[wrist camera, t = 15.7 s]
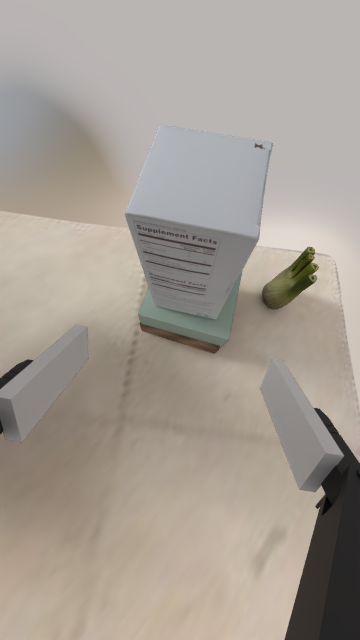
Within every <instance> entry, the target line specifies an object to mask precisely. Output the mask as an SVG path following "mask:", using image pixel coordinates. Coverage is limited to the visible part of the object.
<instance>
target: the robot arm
mask: <svg viewBox="0 0 360 640" xmlns="http://www.w3.org/2000/svg"><path fill="white" fill-rule="evenodd" d="M87 360H88V334H87V326H81V325H75V326H74V327H73V328H72V329H71V330H70V331H68V332H67V333H66V334H65V335H64V336H62V337H61V338H60V339H59V340H58V341H57V342H55V343H54V344H53V345H52V346H51V347H50V348H48V349H47V350H46V351H45V352H44V353H42V354H41V355H40V356H39V357H38V358H37V359H35V360H26V361H24V362H22V363H19V364H17V365H16V366H15V367H14V368H12V369H11V370H10V371H9V372H7V373H6V374H5V375H3V376H2V378H0V434H1V433H2V432H3V433H4V436H5V439H6V440H10V441H16V442H23V441H24V439H25V438H26V437H27V436H28V434H29V433H30V432H31V431H32V429H33V428H34V427H35V425H36V424H37V423H38V422H39V420H40V419H41V418H42V417H43V415H44V414H45V413H46V412H47V410H48V409H49V408H50V407H51V405H52V404H53V403H54V402H55V400H56V399H57V398H58V396H59V395H60V394H61V393H62V391H63V390H64V389H65V388H66V386H67V385H68V384H69V383H70V381H71V380H72V379H73V378H74V376H75V375H76V374H77V373H78V371H79V370H80V369H81V367H82V366H83V365H84V364H85V362H86V361H87ZM260 390H261V393H262V395H263V398H264V400H265V403H266V405H267V408H268V411H269V413H270V416H271V418H272V421H273V423H274V426H275V428H276V431H277V434H278V436H279V439H280V441H281V444H282V446H283V449H284V452H285V454H286V457H287V459H288V462H289V464H290V467H291V470H292V472H293V475H294V477H295V480H296V482H297V485H298V487H299V490H305V491H311V492H316V491H317V490H318V488H319V487H320V486H321V485H322V487H323V489H324V491H325V493H326V494H325V495H324V496H323V498H322V499H321V500H320V501H319V502H318V504H317V505H316V506H315V507H316V508H317V509H318V508H319V507H320V509H319V513H318V517H317V520H316V524H315V528H314V532H313V535H312V539H311V543H310V547H309V550H308V554H307V558H306V561H305V565H304V569H303V573H302V576H301V580H300V584H299V588H298V591H297V595H296V599H295V603H294V606H293V610H292V614H291V618H290V621H289V625H288V629H287V633H286V636H285V640H360V463H359V462H358V460H357V459H356V457H355V456H354V454H353V453H352V452H351V450H350V449H349V447H348V446H347V444H346V443H345V441H344V440H343V438H342V437H341V435H339V433H338V431H337V430H336V428H335V427H334V425H333V424H332V422H331V421H330V419H329V418H328V417H327V416H326V415H325V414H324V413H323V412H322V411H321V410H320V409H318V408H313V406H312V405H311V403H310V402H309V400H308V399H307V397H306V395H305V394H304V392H303V391H302V389H301V388H300V386H299V384H298V383H297V381H296V380H295V378H294V377H293V375H292V374H291V372H290V370H289V369H288V367H287V366H286V364H285V363H284V361H283V360H278V359H272V360H271V363H270V365H269V368H268V370H267V372H266V375H265V377H264V379H263V382H262V384H261V386H260Z"/></svg>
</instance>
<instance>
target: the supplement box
mask: <svg viewBox="0 0 360 640" xmlns="http://www.w3.org/2000/svg"><path fill="white" fill-rule="evenodd" d="M272 147H273V143H271V142H267V141H261V140H255V139H249V138H243V137H236V136H230V135H223V134H217V133H210V132H204V131H198V130H192V129H185V128H180V127H173V126H162V125H161V126H159V128H158V131H157V133H156V136H155V139H154V141H153V144H152V147H151V149H150V152H149V154H148V157H147V160H146V162H145V164H144V167H143V169H142V172H141V175H140V177H139V180H138V182H137V185H136V188H135V190H134V193H133V195H132V198H131V200H130V203H129V205H128V208H127V210H126V212H125V217H126V220H127V223H128V226H129V229H130V232H131V235H132V238H133V241H134V244H135V247H136V250H137V253H138V256H139V259H140V262H141V265H142V268H143V271H144V274H145V277H146V280H147V283H148V286H149V289H150V292H151V295H152V298H153V301H154V304H155V306H158V307H162V308H166V309H171V310H175V311H180V312H184V313H189V314H193V315H198V316H202V317H207V318H211V319H217V318H218V315H219V313H220V311H221V310H222V308H223V306H224V304H225V302H226V300H227V298H228V296H229V294H230V291H231V289H232V288H233V286H234V284H235V282H236V281H237V279H238V277H239V275H240V273H241V271H242V270H243V268H244V266H245V264H246V262H247V260H248V258H249V257H250V255H251V253H252V251H253V249H254V247H255V245H256V244H257V242H258V240H259V234H260V224H261V215H262V207H263V198H264V191H265V184H266V178H267V172H268V166H269V160H270V155H271V151H272Z"/></svg>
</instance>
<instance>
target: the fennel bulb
mask: <svg viewBox="0 0 360 640" xmlns="http://www.w3.org/2000/svg"><path fill="white" fill-rule="evenodd" d="M314 254H315V250H314V249H313V248H312V247H307V249H306V250H305V251H304V252H303V253H302V254H301V255H300V256H299V258H298V259H297V260H296V261H295V262H294V263H293V264H292V265H291V266H290V267H288V268H287V269H285V270H284V271H282V272H281V273H280V274H279V275H278V276H276V277H275V278H274V279H273V280H272V281H270V282H269V283H267V284H266V285H265V287H264V288H263V291H262V297H263V300H264V302H265V304H266V305H267V306H268V307H270V308H271V309H279V308H281V307H283V306H285V305H287V304H288V303H289V302H291V301H292V300H293V299H294V298H295V297H296V296H298V295H299V294H300V293H301V292H302V291H303V290H305V289H306V288H308V287H309V286H311V285H312V284H313V283H315V282H316V280H317V277H316V275H312V274H313V273H314V272H316V271H317V270H318V268H319V267H318V265H317V264H315V263H311V262H312V261H313V260H314V256H313V255H314Z"/></svg>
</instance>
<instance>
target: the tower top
mask: <svg viewBox="0 0 360 640" xmlns="http://www.w3.org/2000/svg"><path fill="white" fill-rule="evenodd" d="M241 275H242V271H241V273H240V275H239V277H238V279H237V281H236V282H235V284H234V286H233V288H232V289H231V291H230V294H229V296H228V298H227V300H226V302H225V304H224V306H223V308H222V310H221V311H220V313H219V315H218V318H217V319H211V318H207V317H202V316H198V315H193V314H189V313H184V312H180V311H175V310H171V309H166V308H162V307H158V306H155V304H154V301H153V298H152V295H151V292H150V289H149V287H148V289H147V292H146V295H145V297H144V300H143V303H142V305H141V308H140V311H139V313H138V316H139V319H140V321H141V324H144V325H148V326H151V327H155V328H158V329H162V330H165V331H169V332H173V333H176V334H180V335H183V336H187V337H190V338H194V339H197V340H201V341H204V342H208V343H212V344H215V345H219V346H222V345H224V344H225V343H226V342H227V341H228V340H229V336H230V331H231V326H232V321H233V316H234V310H235V305H236V300H237V295H238V290H239V285H240V280H241Z"/></svg>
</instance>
